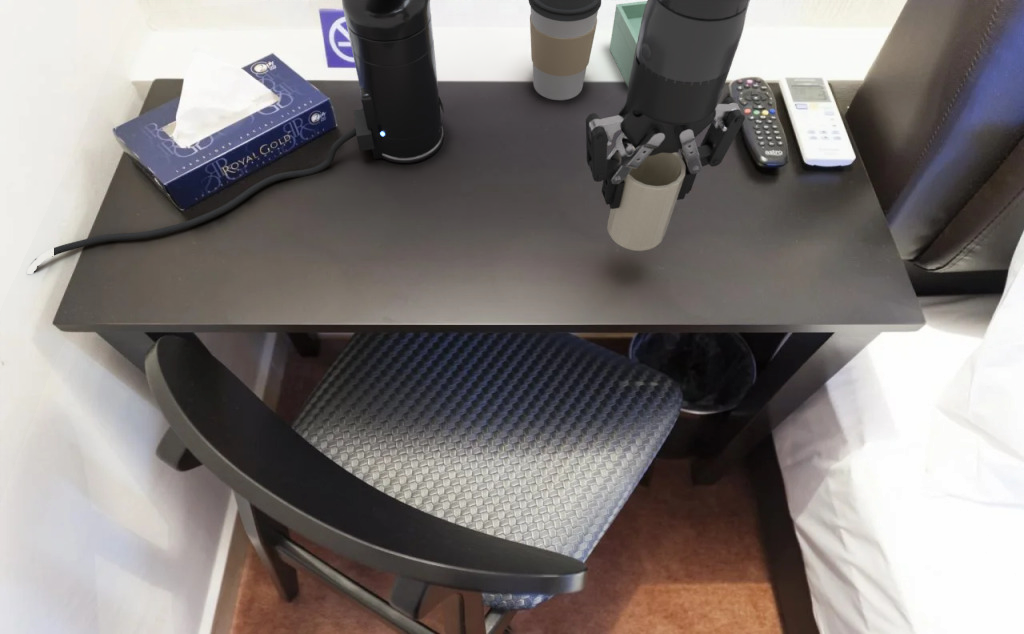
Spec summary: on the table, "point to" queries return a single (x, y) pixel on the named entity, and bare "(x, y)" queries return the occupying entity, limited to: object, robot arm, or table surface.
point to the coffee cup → (561, 45)
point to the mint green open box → (626, 35)
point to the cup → (647, 202)
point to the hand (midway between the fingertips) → (644, 197)
